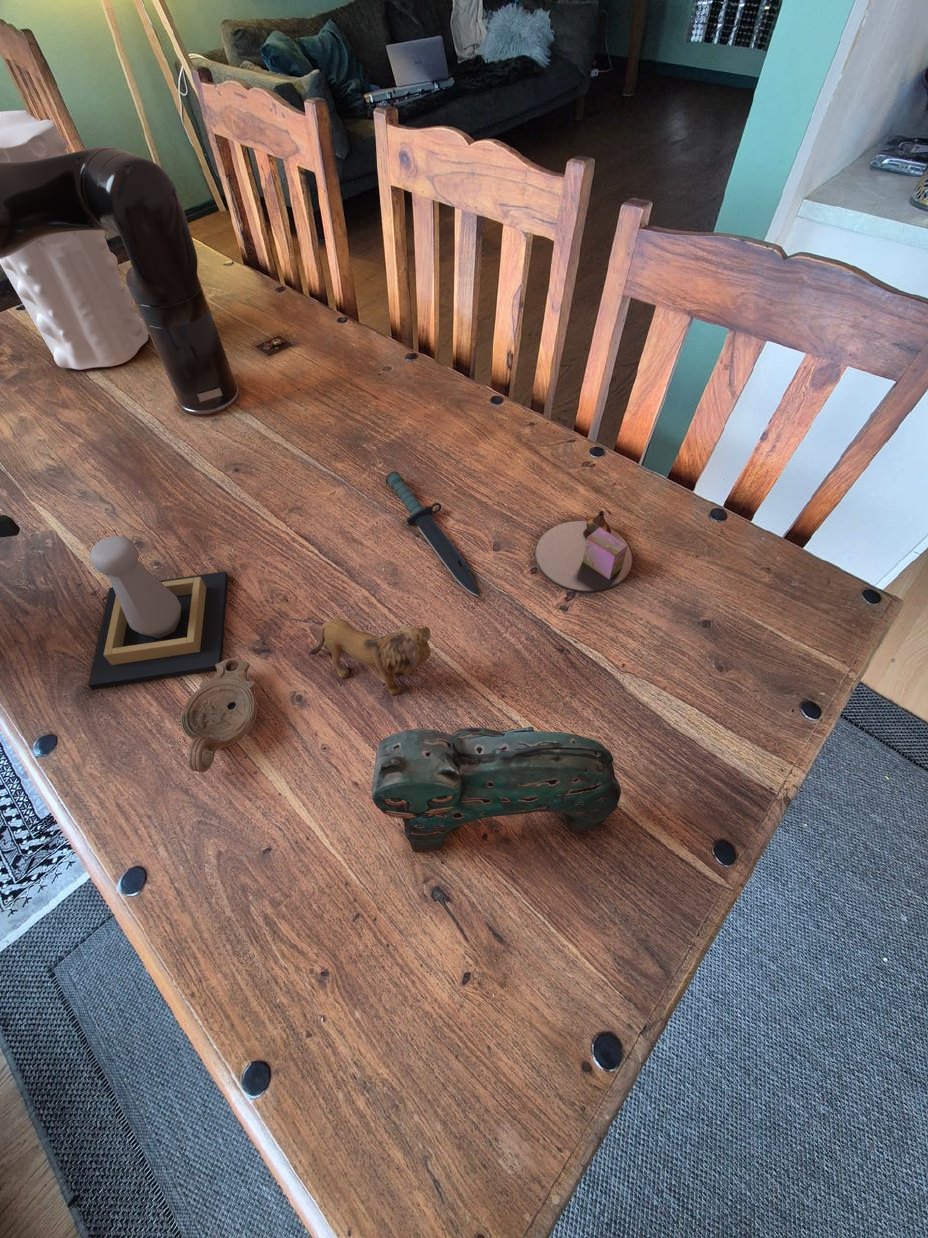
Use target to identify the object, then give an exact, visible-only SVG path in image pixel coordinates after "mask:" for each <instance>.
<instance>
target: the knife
mask: <svg viewBox="0 0 928 1238" xmlns="http://www.w3.org/2000/svg"><path fill="white" fill-rule="evenodd" d="M385 483H386V485H389V487H390V488H391V489H392V490H394V491H395V492H396V493H397V496H398V497H399V498H400V500H401V502H402V503H403V505H404V506H405V507H406V508H407V510H408V511H409V512H410V514H411V515H410V516H408V517H407V518H406V523H407V525H408V526H412V525H416V526H417V529H418V530H419V532H420V533H421V534H422V536H423V537H424V538H425V540H426V541H427V543H428V544H429V546H430V547H431V548H432V550H433V551H434V552H435V554H436V555H437V557H438V558H439V559H440V561H441V562H442V563H443V564H444V566H445V568H446V569H447V570H448V572H449V573H450V574H451V575H452V577H453V578H454V580H456V581H457V583H459V585H460V586H461V587H462V588H463V589H464V590H466V591H467V592H468V593H469V594H471V595H474V596H476V597H481V595H480V591H479V589H478V586H477V585H476V582H475V580H474V578H473V575H472V573H471V571H470V569H469V566H468V564H467V562H466V560H465V559H464V558H463V556H462V555H461V553H460V552H459V551H458V550H457V548H456V547H455V546H454V544H453V543H452V542H451V540H450V539H449V537H448V536H447V535H446V534H445V532H444V531H443V530H442V528H441V527H440V525H439V524H438V523H437V521H436V520H435V519H434V517H433V515H435V514H438V513H439V512H440V511H441V510H442V504H441V503H440V502H434V503H432V504H431V505H426V506H422V504H421V503H420V501H419V500H418V498H417V497H416V495H415V494H414V493H413V492H412V491H411V490H410V489H409V487H408V486H407V485H406V483H405V480H404V478H403V477H402V475H401V474H400V472H399V471H392V472H390V473H388V474H387V476H386V478H385ZM436 506H438V507H437V508H436V509H435V510H433V509H434V507H436ZM459 563H461V565H462V566H461V565H460V564H459Z"/></svg>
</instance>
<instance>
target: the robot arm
mask: <svg viewBox="0 0 928 1238" xmlns="http://www.w3.org/2000/svg"><path fill="white" fill-rule="evenodd" d="M85 230H104V231H105V232H110V233H114V234H116V235H118V236H120V238H121V241H122V243H123V246H124V248H125V251H126V254H127V256H128V259H129V262H130V264H131V266H130V267H129V268H128V270H127V271H126V274H125V282H126V285H127V286H128V288H129V290H130V292H131V294H132V297H133V302H134V303H135V305H136V308H137V310H138V313H139V314H140V317H141V318H142V319H143V321H144V323H145V326H146V328H147V330H148V332H149V334H148V336H149V337H150V339H151V342H152V344H153V345H154V349H155V350H156V353H157V355H158V357H159V360H160V362H161V365H162V367H163V369H164V371H165V373H166V376H167V377H168V380H169V383H170V385H171V387H172V389H173V392H174V394H175V396H176V398H177V402H178V404H179V407H180V409H181V410H182V411H183V412H185V413H186V414H188V415H192V416H198V417H204V416H211V415H216V414H219V413H222V412H225V411H226V410H228V409H230V408H231V407H233V406H234V405H235V404H236V403H237V402H238V400H239V399H240V390H239V386H238V384H237V383H236V379H235V376H234V374H233V371H232V368H231V365H230V362H229V360H228V357H227V354H226V351H225V348H224V345H223V343H222V340H221V337H220V334H219V331H218V328H217V325H216V322H215V320H214V317H213V314H212V311H211V308H210V305H209V303H208V300H207V297H206V294H205V291H204V289H203V285H202V283H201V280H200V277H199V274H198V269H199V262H198V255H197V250H196V247H195V244H194V239H193V236H192V233H191V230H190V226H189V223H188V219H187V216H186V213H185V210H184V207H183V204H182V201H181V198H180V195H179V193H178V190H177V188H176V186H175V185H174V183H173V181H172V179H171V177H170V176H169V175H168V174H167V172H166V171H165V170H164V169H163V168H162V167H161V166H160V165H159V164H157V163H156V162H154V161H152V160H150V159H148V158H146V157H144V156H140V155H138V154H134V153H132V152H129V151H126V150H124V149H119V148H116V147H111V146H97V147H91V148H87V149H86V148H85V149H82V150H78V151H74V152H70V153H69V152H68V154H65V155H60V156H55V157H51V158H46V159H41V160H35V161H28V162H0V259H3V258H5V257H7V256H10V255H12V254H13V253H15V252H17V251H19V250H21V249H22V248H24V247H26V246H27V245H29V244H31V243H32V242H34V241H36V240H38V239H40V238H42V237H45V236H47V235H51V234H55V233H62V232H70V231H85ZM20 531H21V527H20V526H19V525H18V524H17V522H15V520H14V519H13V518H12V517H11V516H9V515H7V514H0V538H8V537H9V538H10V537H17V536H18V535H19V533H20Z"/></svg>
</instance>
